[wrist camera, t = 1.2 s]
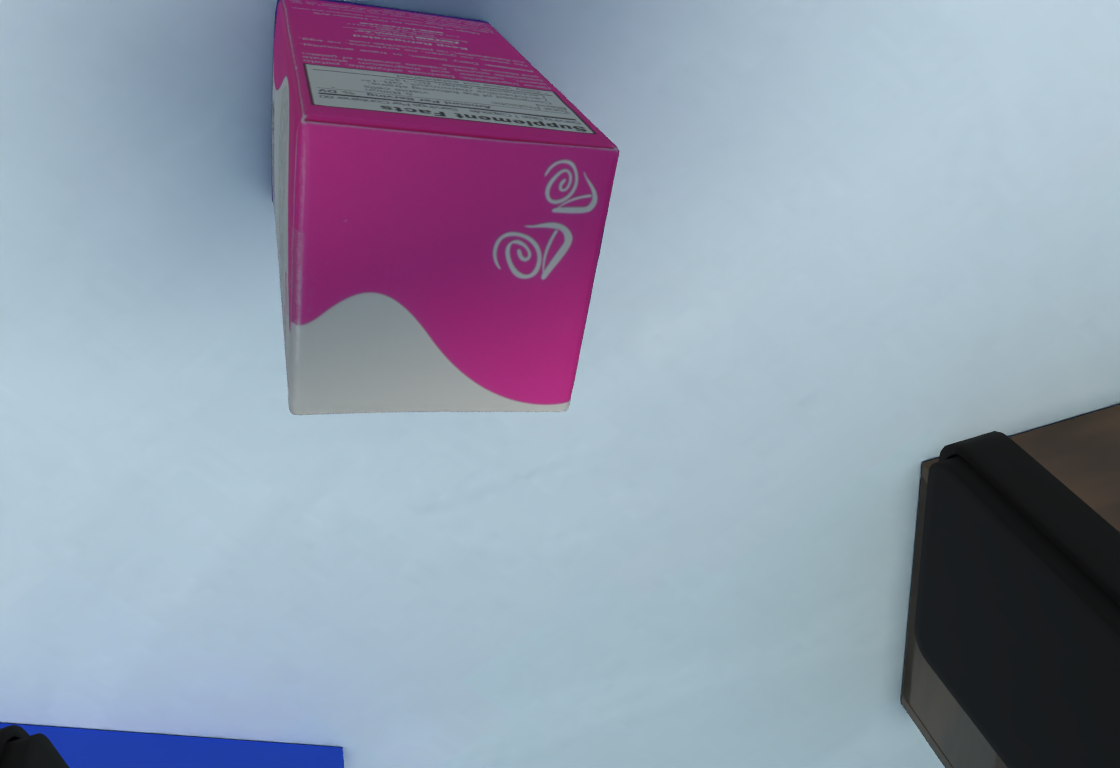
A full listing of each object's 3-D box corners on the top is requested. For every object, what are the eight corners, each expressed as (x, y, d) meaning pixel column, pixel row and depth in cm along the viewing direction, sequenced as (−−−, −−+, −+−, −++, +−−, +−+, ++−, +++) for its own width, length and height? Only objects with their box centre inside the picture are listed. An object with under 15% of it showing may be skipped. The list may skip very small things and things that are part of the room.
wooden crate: (1174, 387, 41) (1399, 537, 33) (1108, 634, 50) (1272, 801, 42) (922, 461, 39) (1092, 639, 31) (900, 703, 48) (1028, 890, 40)
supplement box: (473, 216, 29) (571, 425, 19) (269, 202, 27) (269, 424, 18) (499, 17, 26) (629, 149, 17) (274, -14, 24) (276, 114, 15)
